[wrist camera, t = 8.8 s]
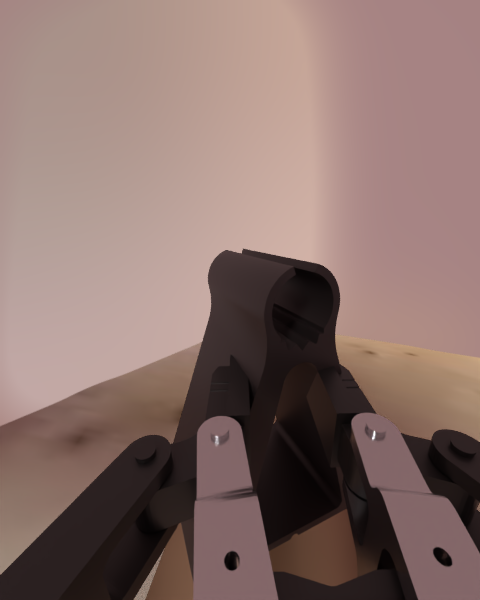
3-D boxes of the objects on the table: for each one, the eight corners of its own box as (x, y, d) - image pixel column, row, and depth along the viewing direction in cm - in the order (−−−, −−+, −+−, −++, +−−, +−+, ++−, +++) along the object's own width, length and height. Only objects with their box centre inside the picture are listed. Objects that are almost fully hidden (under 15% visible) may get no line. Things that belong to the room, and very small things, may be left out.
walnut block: (145, 701, 15) (126, 650, 12) (211, 484, 26) (206, 437, 23) (385, 790, 12) (412, 747, 10) (344, 509, 23) (353, 459, 21)
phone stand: (300, 419, 19) (308, 244, 15) (371, 497, 13) (406, 254, 10) (168, 465, 15) (141, 255, 12) (193, 592, 10) (157, 280, 7)
